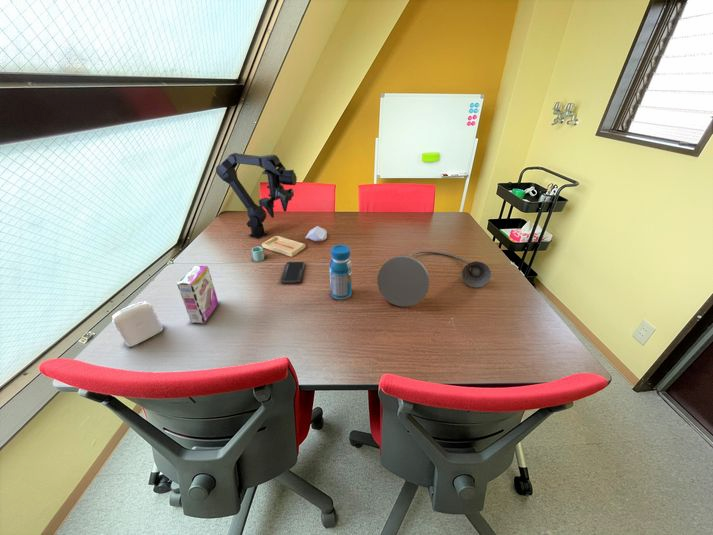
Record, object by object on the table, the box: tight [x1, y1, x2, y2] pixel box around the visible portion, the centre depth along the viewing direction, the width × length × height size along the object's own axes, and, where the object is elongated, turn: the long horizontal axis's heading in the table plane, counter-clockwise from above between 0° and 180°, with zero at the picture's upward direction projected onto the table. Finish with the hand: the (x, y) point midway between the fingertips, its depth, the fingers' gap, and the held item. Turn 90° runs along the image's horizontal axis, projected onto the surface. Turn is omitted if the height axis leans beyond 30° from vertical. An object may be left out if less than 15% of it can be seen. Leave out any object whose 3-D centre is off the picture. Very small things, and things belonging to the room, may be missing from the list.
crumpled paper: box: [304, 225, 328, 242], centre depth 150 cm, size 9×7×13 cm
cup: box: [251, 246, 265, 262], centre depth 132 cm, size 5×5×5 cm
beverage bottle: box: [329, 244, 353, 300], centre depth 107 cm, size 8×8×20 cm
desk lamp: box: [377, 250, 492, 308], centre depth 120 cm, size 18×45×40 cm
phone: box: [281, 261, 305, 284], centre depth 123 cm, size 8×1×15 cm
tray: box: [261, 235, 306, 258], centre depth 143 cm, size 19×11×2 cm, turn 62°
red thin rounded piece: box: [275, 242, 294, 249], centre depth 143 cm, size 7×1×10 cm
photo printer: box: [111, 300, 164, 348], centre depth 89 cm, size 10×4×12 cm, turn 140°
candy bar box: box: [176, 265, 219, 324], centre depth 98 cm, size 11×5×16 cm, turn 178°
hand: (279, 214), depth 145 cm, fingers open, 9 cm apart
